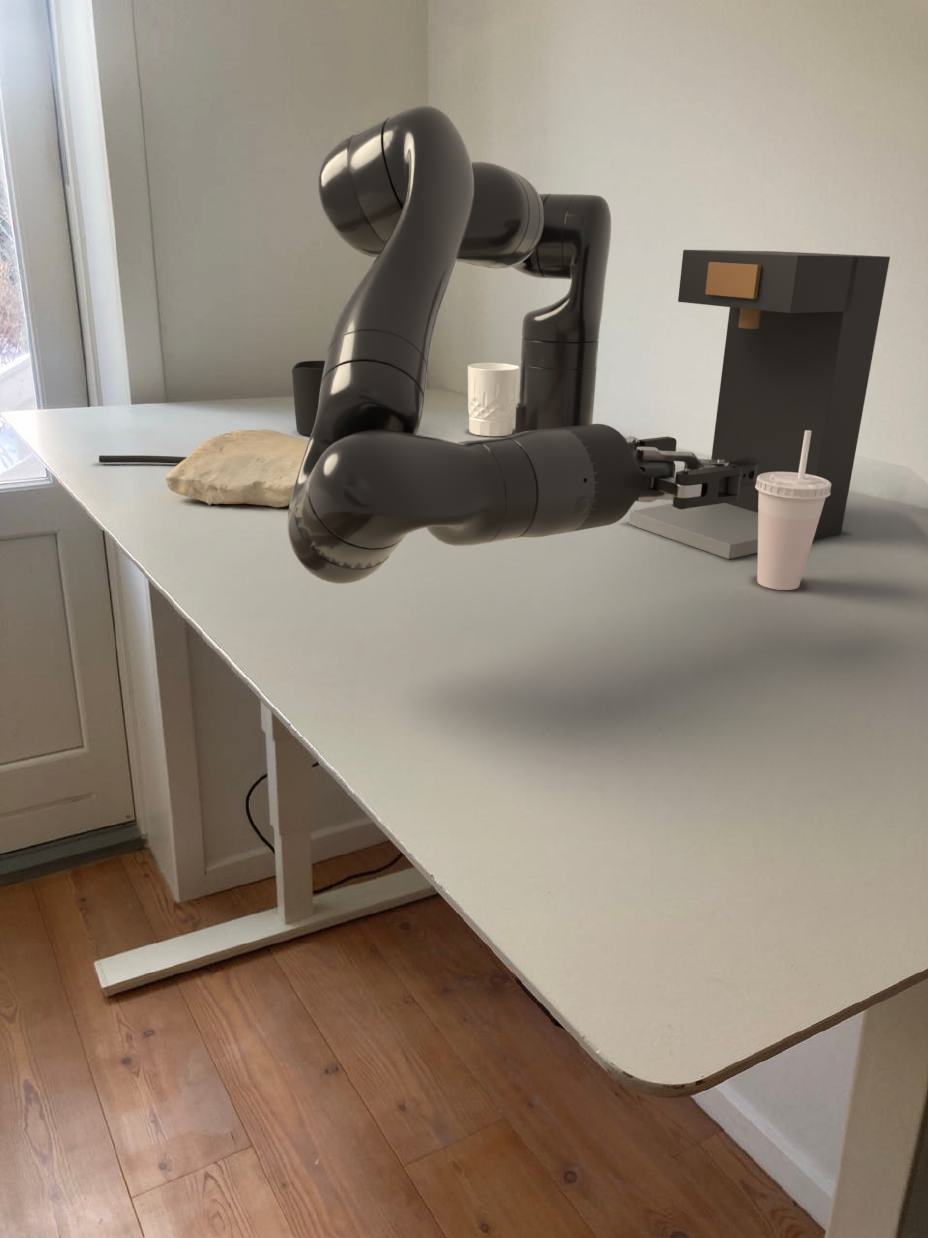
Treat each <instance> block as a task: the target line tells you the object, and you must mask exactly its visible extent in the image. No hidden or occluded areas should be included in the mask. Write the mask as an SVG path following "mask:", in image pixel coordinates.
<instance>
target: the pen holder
mask: <svg viewBox="0 0 928 1238" xmlns="http://www.w3.org/2000/svg"><path fill="white" fill-rule="evenodd" d="M324 365H325V360H305V361H303V360H302V361H300V362H297V363H295V364H294V366H293V367H292V370H291V377H292V389H293V403H294V404H293V405H294V414H295V415H294V416H295V417H294V418H295V428H296V432H298V434H299V435H302V436H304V437H310V436H311V433H312V430H313V427H314V424H315V420H316V416H317V410H318V404H319V394H320V387H321V381H322V375H323V370H324Z"/></svg>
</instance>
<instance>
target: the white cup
mask: <svg viewBox="0 0 928 1238" xmlns="http://www.w3.org/2000/svg"><path fill="white" fill-rule="evenodd" d="M520 371H521V366H519V365H516V364H510V363H500V362H499V363H498V362H478V363H470V364H467V408H468V409H467V411H468V429H469V431H468V432H469V433H471V434H472V435H476V436H482V437H492V438H495V437H503V436H510V435H513V433H514V432H513V431H514V424H515V423H514V421H515V417H516V406H517V404H518V390H519V383H520Z"/></svg>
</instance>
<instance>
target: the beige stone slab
mask: <svg viewBox="0 0 928 1238" xmlns="http://www.w3.org/2000/svg"><path fill="white" fill-rule="evenodd" d="M308 442H309V439H304V438H300V437H298V436H293V435H291V434H286V433H283V432H280V431H277V430H273V429H265V428H264V429H263V428H261V429H237V430H235V431H231V430H230V431H229V432H228V433H227V432H226V433H223V434H219V435H216V436H212V437H211V438H209V439H207V440H206V441H203V442H201V443H200V444H198V446H197V447H196V448H195V449H194V450H193V451H192V452H191V454H190V455H188V456H186V457H187V458H186V459H184V460H183V461H181V462H180V463H179V464H176V465H175V466H174V467H173V468H172V469H171V470H170V471H169V472H168V474H167V475H166V477H165V480H166V485H167V487H168V489H169V490H170V491H172V492H173V493H175V494H176V495H179V496H184V497H188V498H192V499H195V500H198V501H201V502H202V503H203V502H204V503H206V504H207V505H208V506H211V505H212V504H214V505H221V504H224V505H240V504H246V505H247V504H248V505H257V506H269V507H272V508H283V507H287V506H288V507H289V505H290V501H291V497H292V493H293V489H294V486H295V482H296V479H297V476H298V473H299V469H300V466H301V463H302V460H303V457H304V454H305V451H306V448H307V445H308Z"/></svg>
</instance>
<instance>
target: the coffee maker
mask: <svg viewBox="0 0 928 1238" xmlns="http://www.w3.org/2000/svg"><path fill="white" fill-rule="evenodd" d="M890 259H891V256H885V255H884V256H883V255H864V254H863V255H862V254H843V253H842V254H841V253H822V252H821V253H820V252H802V251H801V252H798V251H776V250H731V249H730V250H726V249H725V250H723V249H720V250H719V249H683V250H682V259H681V267H680V268H681V269H680V276H679V277H680V278H679V287H678V298H677V302H678V303H685V304H696V305H705V306H716V307H723V308H729V312H728V320H727V328H726V336H725V342H724V351H723V359H722V368H721V375H720V376H721V377H720V383H719V393H718V400H717V407H716V418H715V425H714V434H713V443H712V449H711V458H710V459H712V460H718V459H729V458H736V457H743V456H750V457H755V458H757V460H758V467H757V474H756V481H755V483H754V484H753V485H751V486H746V487H740V488H739V495H738V501H734V502H728V503H721V504H714V505H707V506H700V507H694V508H687V509H677V508H675V507H673V503H668V504H662V505H657V506H652V507H646V508H641V509H634V510H629V519H628V520H629V521H628V525H630V526H632V527H635V528H639V529H641V530H644V531H647V532H650V533H653V534H655V535H658V536H662V537H664V538H667V539H670V540H673V541H675V542H679V543H682V544H684V545H687V546H690V547H692V548H696V549H698V550H701V551H703V552H706V553H710V554H712V555H715V556H718V557H721V558H724V559H727V560H731V559H736V558H740V557H744V556H748V555H749V556H750V555H753V554H758V498H759V491H758V490H757V489H756V488H755V485H756V482H757V476H759V475H760V474H763V473H768V472H795V473H798V472H799V466H800V459H801V453H802V446H803V440H804V433H805V430H810V431H812V432H811V438H810V445H809V451H808V457H807V464H806V470H805V474H809V475H814V476H818V477H821V478H824V479H826V480H828V481H829V482H830V483H831V489H830V496H828V497H826V498H825V501H824V505H823V509H822V512H821V515H820V518H819V522H818V525H817V528H816V532H815V535H814V538H813V541H814V540H818V539H822V538H826V537H831V536H836V535H840V534H842V532H843V525H844V520H845V514H846V509H847V503H848V497H849V492H850V488H851V487H850V486H851V481H852V474H853V469H854V464H855V458H856V452H857V447H858V446H857V445H858V442H859V441H858V440H859V436H860V435H859V434H860V430H861V423H862V420H863V419H862V417H863V412H864V406H865V401H866V395H867V389H868V384H869V379H870V372H871V369H872V368H871V367H872V363H873V362H872V361H873V357H874V350H875V345H876V339H877V333H878V327H879V322H880V316H881V310H882V305H883V301H884V300H883V298H884V293H885V287H886V281H887V276H888V271H889V267H890Z"/></svg>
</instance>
